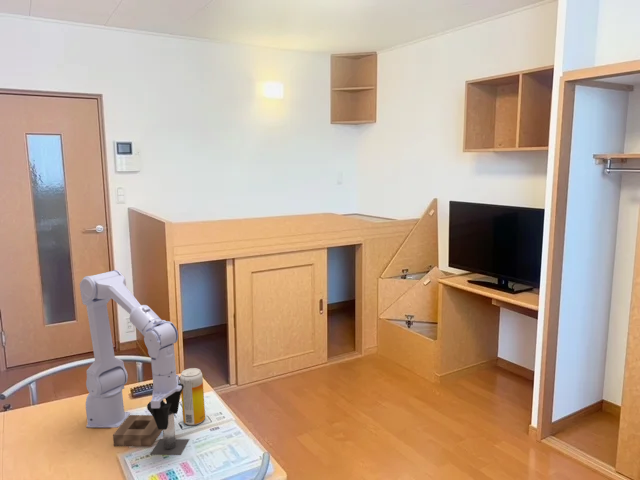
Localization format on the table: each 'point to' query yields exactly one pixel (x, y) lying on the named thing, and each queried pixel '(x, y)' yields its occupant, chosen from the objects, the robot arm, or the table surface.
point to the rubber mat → (176, 451)
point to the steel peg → (169, 433)
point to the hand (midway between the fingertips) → (168, 420)
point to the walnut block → (137, 431)
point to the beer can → (192, 396)
